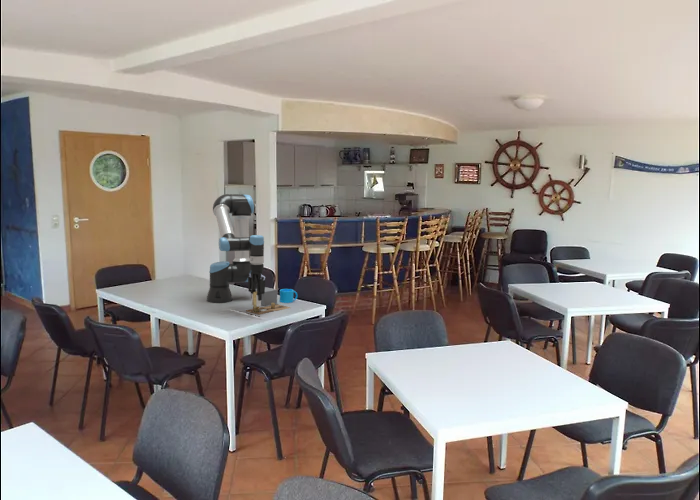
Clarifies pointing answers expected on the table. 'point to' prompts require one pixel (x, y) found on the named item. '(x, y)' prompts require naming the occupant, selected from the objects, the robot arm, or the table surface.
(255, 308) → the peg
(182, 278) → the table surface
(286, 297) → the mug
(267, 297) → the block
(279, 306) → the board
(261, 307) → the build board
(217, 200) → the robot arm
